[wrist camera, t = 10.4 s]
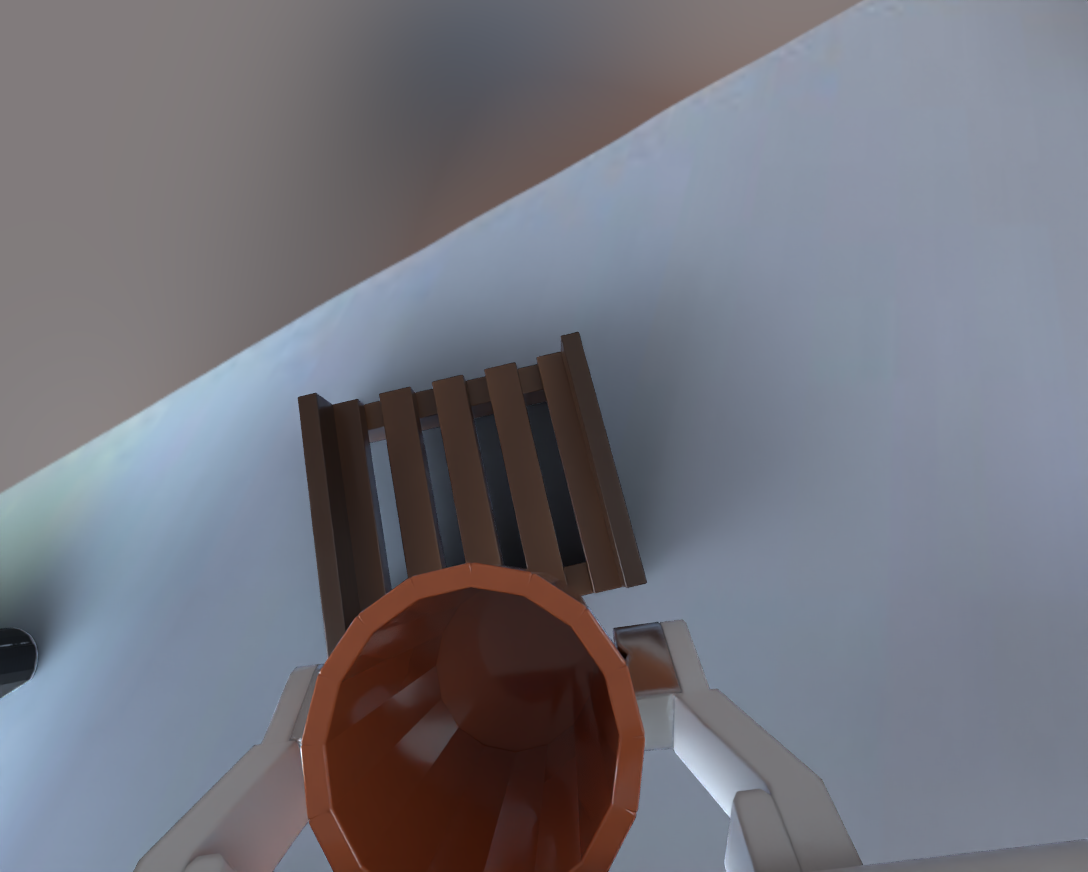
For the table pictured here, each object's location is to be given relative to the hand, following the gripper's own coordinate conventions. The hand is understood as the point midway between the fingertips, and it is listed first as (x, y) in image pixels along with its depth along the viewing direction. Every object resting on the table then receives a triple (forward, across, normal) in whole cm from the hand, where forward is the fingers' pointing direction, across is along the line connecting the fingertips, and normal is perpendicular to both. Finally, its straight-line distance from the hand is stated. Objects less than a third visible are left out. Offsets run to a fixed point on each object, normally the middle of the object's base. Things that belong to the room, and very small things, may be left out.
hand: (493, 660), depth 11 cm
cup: (+3, 0, +4) cm, 4 cm away
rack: (+18, +3, +8) cm, 20 cm away
